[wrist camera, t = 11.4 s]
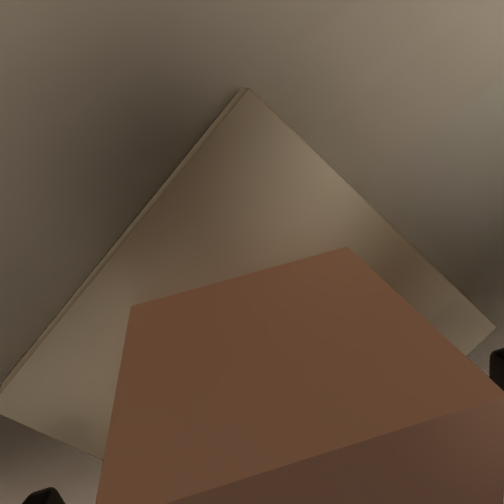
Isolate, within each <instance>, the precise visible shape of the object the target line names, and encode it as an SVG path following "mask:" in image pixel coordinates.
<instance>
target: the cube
mask: <svg viewBox="0 0 504 504" xmlns="http://www.w3.org/2000/svg"><path fill="white" fill-rule="evenodd" d="M503 498H504V391H503V390H502V389H501V388H500V387H499V386H498V385H497V384H495V383H494V382H493V381H492V380H491V379H490V378H489V377H488V376H487V375H486V374H485V373H484V372H482V371H481V370H480V369H479V368H478V367H477V366H476V365H475V364H474V363H473V362H472V361H471V360H469V359H468V358H467V357H466V356H465V355H464V354H463V353H462V352H461V351H460V350H459V349H458V348H456V347H455V346H454V345H453V344H452V343H451V342H450V341H449V340H448V339H447V338H446V337H445V336H443V335H442V334H441V333H440V332H439V331H438V330H437V329H436V328H435V327H434V326H433V325H432V324H430V323H429V322H428V321H427V320H426V319H425V318H424V317H423V316H422V315H421V314H420V313H419V312H417V311H416V310H415V309H414V308H413V307H412V306H411V305H410V304H409V303H408V302H407V301H406V300H404V299H403V298H402V297H401V296H400V295H399V294H398V293H397V292H396V291H395V290H394V289H393V288H391V287H390V286H389V285H388V284H387V283H386V282H385V281H384V280H383V279H382V278H381V277H380V276H378V275H377V274H376V273H375V272H374V271H373V270H372V269H371V268H370V267H369V266H368V265H367V264H365V263H364V262H363V261H362V260H361V259H360V258H359V257H358V256H357V255H356V254H355V253H354V252H352V251H351V250H350V249H349V248H348V247H344V248H341V249H337V250H333V251H330V252H326V253H322V254H319V255H315V256H312V257H308V258H304V259H301V260H297V261H293V262H290V263H286V264H282V265H279V266H275V267H272V268H268V269H264V270H261V271H257V272H253V273H250V274H246V275H243V276H239V277H235V278H232V279H228V280H224V281H221V282H217V283H213V284H210V285H206V286H203V287H199V288H195V289H192V290H188V291H184V292H181V293H177V294H173V295H170V296H166V297H163V298H159V299H155V300H152V301H148V302H144V303H141V304H137V305H134V306H131V308H130V314H129V319H128V325H127V331H126V336H125V342H124V347H123V353H122V359H121V364H120V370H119V375H118V381H117V386H116V392H115V398H114V403H113V409H112V414H111V420H110V426H109V431H108V437H107V442H106V448H105V454H104V459H103V465H102V470H101V476H100V481H99V487H98V493H97V498H96V504H503Z"/></svg>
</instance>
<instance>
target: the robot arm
mask: <svg viewBox="0 0 504 504" xmlns="http://www.w3.org/2000/svg"><path fill="white" fill-rule="evenodd" d="M489 378H490V379H491V380H492V381H493V382H494V383H495V384H497V385H498V386H499V387H500V388H501V389H502V390H503V391H504V348H502V349H499V350H495V351H493V352H492V353H491V355H490V371H489ZM22 504H65V503H64V501H63V499H62V498H61V496H60V494H59V493H58V491H57V490H56V489H55V488H53V487H49V488H46V489H43V490H40V491H36V492H33V493H32V494H30V495H29V496H28V497H27V498H26V499H25V501H24V502H23V503H22Z"/></svg>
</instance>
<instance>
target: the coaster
mask: <svg viewBox="0 0 504 504" xmlns="http://www.w3.org/2000/svg"><path fill="white" fill-rule="evenodd" d="M344 247H348V248H349V249H350V250H351V251H352V252H354V253H355V254H356V255H357V256H358V257H359V258H360V259H361V260H362V261H363V262H364V263H365V264H367V265H368V266H369V267H370V268H371V269H372V270H373V271H374V272H375V273H376V274H377V275H378V276H380V277H381V278H382V279H383V280H384V281H385V282H386V283H387V284H388V285H389V286H390V287H391V288H393V289H394V290H395V291H396V292H397V293H398V294H399V295H400V296H401V297H402V298H403V299H404V300H406V301H407V302H408V303H409V304H410V305H411V306H412V307H413V308H414V309H415V310H416V311H417V312H419V313H420V314H421V315H422V316H423V317H424V318H425V319H426V320H427V321H428V322H429V323H430V324H432V325H433V326H434V327H435V328H436V329H437V330H438V331H439V332H440V333H441V334H442V335H443V336H445V337H446V338H447V339H448V340H449V341H450V342H451V343H452V344H453V345H454V346H455V347H456V348H458V349H459V350H460V351H461V352H462V353H463V354H464V355H465V356H467V355H468V354H469V353H470V352H471V351H472V350H473V349H474V348H475V347H476V346H477V345H479V344H480V343H481V342H482V341H483V340H484V339H485V338H486V337H487V336H488V335H489V334H490V333H491V332H492V331H493V330H494V329H496V328H497V327H496V326H495V325H494V324H493V323H492V322H491V321H490V320H488V319H487V318H486V317H485V316H484V315H483V314H482V313H481V312H480V311H479V310H478V309H477V308H476V307H475V306H474V305H473V304H472V303H471V302H470V301H469V300H468V299H467V298H466V297H465V296H464V295H463V294H462V293H461V292H460V291H458V290H457V289H456V288H455V287H454V286H453V285H452V284H451V283H450V282H449V281H448V280H447V279H446V278H445V277H444V276H443V275H442V274H441V273H440V272H439V271H438V270H437V269H436V268H435V267H434V266H433V265H432V264H431V263H430V262H428V261H427V260H426V259H425V258H424V257H423V256H422V255H421V254H420V253H419V252H418V251H417V250H416V249H415V248H414V247H413V246H412V245H411V244H410V243H409V242H408V241H407V240H406V239H405V238H404V237H403V236H402V235H401V234H400V233H398V232H397V231H396V230H395V229H394V228H393V227H392V226H391V225H390V224H389V223H388V222H387V221H386V220H385V219H384V218H383V217H382V216H381V215H380V214H379V213H378V212H377V211H376V210H375V209H374V208H373V207H372V206H371V205H370V204H368V203H367V202H366V201H365V200H364V199H363V198H362V197H361V196H360V195H359V194H358V193H357V192H356V191H355V190H354V189H353V188H352V187H351V186H350V185H349V184H348V183H347V182H346V181H345V180H344V179H343V178H342V177H341V176H339V175H338V174H337V173H336V172H335V171H334V170H333V169H332V168H331V167H330V166H329V165H328V164H327V163H326V162H325V161H324V160H323V159H322V158H321V157H320V156H319V155H318V154H317V153H316V152H315V151H314V150H313V149H312V148H311V147H309V146H308V145H307V144H306V143H305V142H304V141H303V140H302V139H301V138H300V137H299V136H298V135H297V134H296V133H295V132H294V131H293V130H292V129H291V128H290V127H289V126H288V125H287V124H286V123H285V122H284V121H283V120H282V119H281V118H279V117H278V116H277V115H276V114H275V113H274V112H273V111H272V110H271V109H270V108H269V107H268V106H267V105H266V104H265V103H264V102H263V101H262V100H261V99H260V98H259V97H258V96H257V95H256V94H255V93H254V92H253V91H252V90H251V89H249V88H241V89H240V90H239V91H238V93H237V94H236V95H235V96H234V98H233V99H232V100H231V101H230V102H229V104H228V105H227V106H226V107H225V109H224V110H223V111H222V112H221V114H220V115H219V116H218V117H217V118H216V120H215V121H214V122H213V123H212V125H211V126H210V127H209V128H208V130H207V131H206V132H205V133H204V135H203V136H202V137H201V138H200V139H199V141H198V142H197V143H196V144H195V146H194V147H193V148H192V149H191V151H190V152H189V153H188V154H187V155H186V157H185V158H184V159H183V160H182V162H181V163H180V164H179V165H178V167H177V168H176V169H175V170H174V172H173V173H172V174H171V175H170V176H169V178H168V179H167V180H166V181H165V183H164V184H163V185H162V186H161V188H160V189H159V190H158V191H157V192H156V194H155V195H154V196H153V197H152V199H151V200H150V201H149V202H148V204H147V205H146V206H145V207H144V209H143V210H142V211H141V212H140V213H139V215H138V216H137V217H136V218H135V220H134V221H133V222H132V223H131V225H130V226H129V227H128V228H127V229H126V231H125V232H124V233H123V234H122V236H121V237H120V238H119V239H118V241H117V242H116V243H115V244H114V246H113V247H112V248H111V249H110V250H109V252H108V253H107V254H106V255H105V257H104V258H103V259H102V260H101V262H100V263H99V264H98V265H97V266H96V268H95V269H94V270H93V271H92V273H91V274H90V275H89V276H88V278H87V279H86V280H85V281H84V283H83V284H82V285H81V286H80V287H79V289H78V290H77V291H76V292H75V294H74V295H73V296H72V297H71V299H70V300H69V301H68V302H67V303H66V305H65V306H64V307H63V308H62V310H61V311H60V312H59V313H58V315H57V316H56V317H55V318H54V320H53V321H52V322H51V323H50V324H49V326H48V327H47V328H46V329H45V331H44V332H43V333H42V334H41V336H40V337H39V338H38V339H37V340H36V342H35V343H34V344H33V345H32V347H31V348H30V349H29V350H28V352H27V353H26V354H25V355H24V356H23V358H22V359H21V360H20V361H19V363H18V364H17V365H16V366H15V368H14V369H13V370H12V371H11V373H10V374H9V375H8V376H7V377H6V379H5V380H4V382H3V383H2V385H1V387H0V414H1V415H3V416H5V417H7V418H10V419H12V420H14V421H16V422H19V423H21V424H23V425H25V426H27V427H30V428H32V429H34V430H36V431H39V432H41V433H43V434H45V435H48V436H50V437H52V438H54V439H57V440H59V441H61V442H63V443H66V444H68V445H70V446H72V447H75V448H77V449H79V450H81V451H84V452H86V453H88V454H90V455H92V456H95V457H97V458H99V459H101V460H103V459H104V454H105V448H106V442H107V437H108V431H109V426H110V420H111V414H112V409H113V403H114V398H115V392H116V386H117V381H118V375H119V370H120V364H121V359H122V353H123V347H124V342H125V336H126V331H127V325H128V319H129V314H130V308H131V306H134V305H137V304H141V303H144V302H148V301H152V300H155V299H159V298H163V297H166V296H170V295H173V294H177V293H181V292H184V291H188V290H192V289H195V288H199V287H203V286H206V285H210V284H213V283H217V282H221V281H224V280H228V279H232V278H235V277H239V276H243V275H246V274H250V273H253V272H257V271H261V270H264V269H268V268H272V267H275V266H279V265H282V264H286V263H290V262H293V261H297V260H301V259H304V258H308V257H312V256H315V255H319V254H322V253H326V252H330V251H333V250H337V249H341V248H344Z"/></svg>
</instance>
